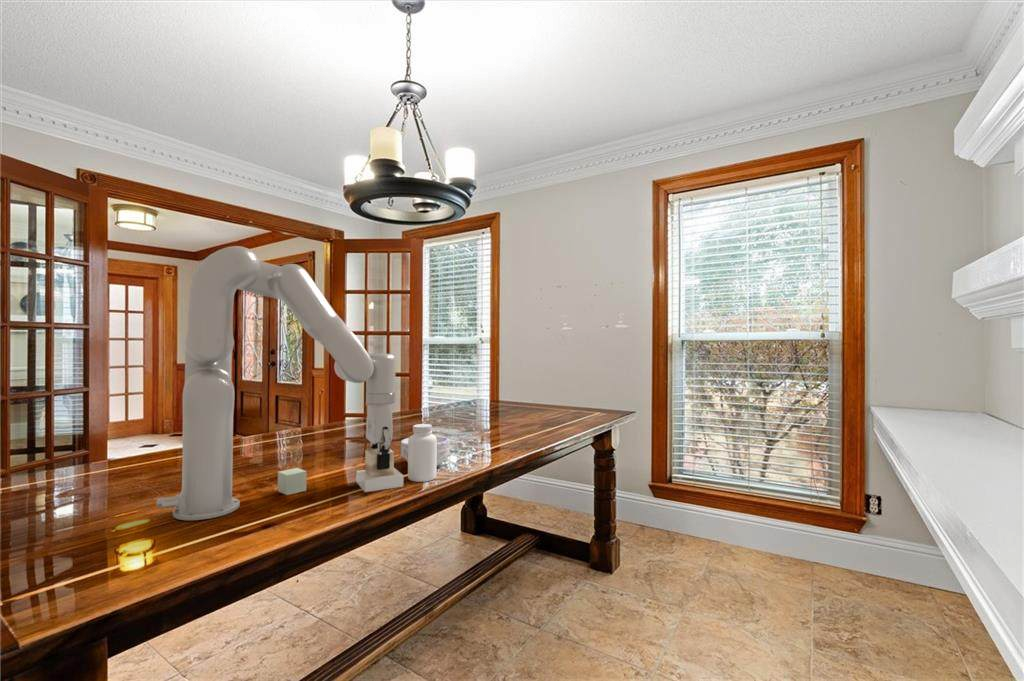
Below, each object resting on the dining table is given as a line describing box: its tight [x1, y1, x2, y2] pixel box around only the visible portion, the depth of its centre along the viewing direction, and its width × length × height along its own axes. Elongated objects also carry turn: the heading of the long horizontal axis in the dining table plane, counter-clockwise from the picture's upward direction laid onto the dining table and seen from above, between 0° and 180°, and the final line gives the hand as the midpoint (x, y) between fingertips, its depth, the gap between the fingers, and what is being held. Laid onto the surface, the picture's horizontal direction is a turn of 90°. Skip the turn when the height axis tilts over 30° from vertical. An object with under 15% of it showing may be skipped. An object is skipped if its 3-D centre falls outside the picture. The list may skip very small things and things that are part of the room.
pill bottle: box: [407, 423, 438, 483], centre depth 134 cm, size 8×8×15 cm
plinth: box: [355, 467, 404, 493], centre depth 128 cm, size 10×10×3 cm
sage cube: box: [277, 467, 308, 496], centre depth 121 cm, size 5×5×5 cm
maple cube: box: [364, 448, 395, 477], centre depth 128 cm, size 6×6×6 cm
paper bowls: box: [400, 435, 451, 467], centre depth 149 cm, size 15×15×8 cm
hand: (379, 465), depth 128 cm, fingers open, 6 cm apart
